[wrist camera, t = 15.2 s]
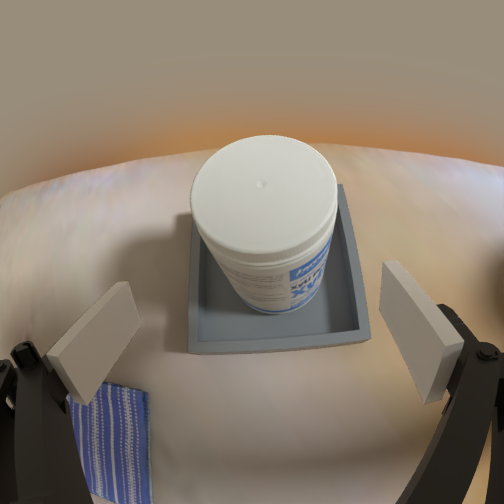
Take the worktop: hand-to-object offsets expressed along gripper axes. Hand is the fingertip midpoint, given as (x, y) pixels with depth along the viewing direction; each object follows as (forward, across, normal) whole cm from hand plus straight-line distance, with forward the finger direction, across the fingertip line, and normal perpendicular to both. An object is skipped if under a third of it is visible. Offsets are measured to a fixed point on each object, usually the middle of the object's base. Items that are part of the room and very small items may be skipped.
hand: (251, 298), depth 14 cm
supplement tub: (+16, +1, -6) cm, 17 cm away
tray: (+16, 0, -6) cm, 17 cm away
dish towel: (+2, -26, -21) cm, 34 cm away
